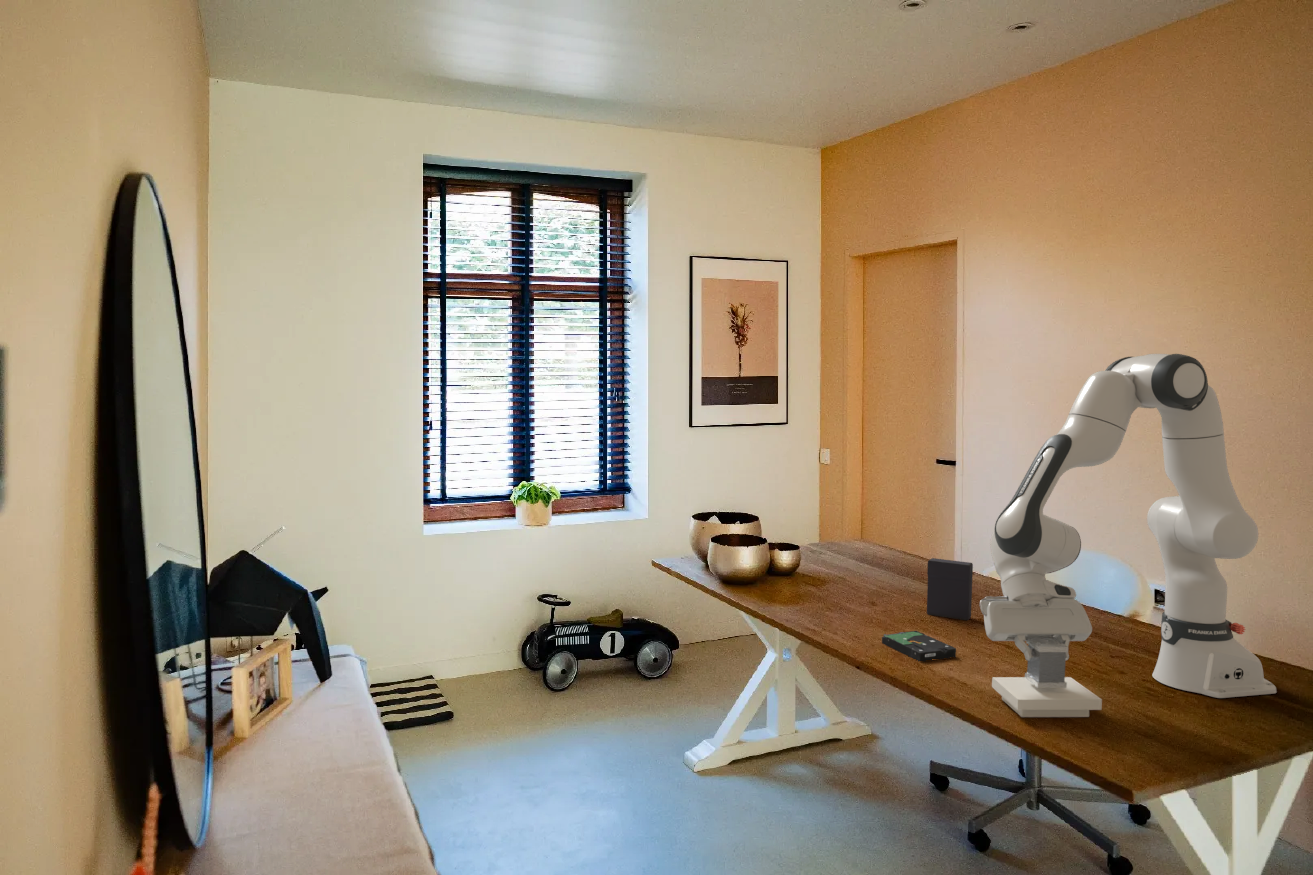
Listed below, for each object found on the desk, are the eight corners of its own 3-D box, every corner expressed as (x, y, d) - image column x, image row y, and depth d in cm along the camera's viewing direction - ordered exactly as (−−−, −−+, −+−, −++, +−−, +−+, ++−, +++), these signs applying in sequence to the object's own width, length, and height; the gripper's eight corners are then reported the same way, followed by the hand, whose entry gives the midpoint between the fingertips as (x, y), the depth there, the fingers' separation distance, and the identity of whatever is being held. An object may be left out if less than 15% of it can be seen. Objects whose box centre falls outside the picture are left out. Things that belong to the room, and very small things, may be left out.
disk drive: (956, 659, 202) (915, 640, 216) (957, 648, 202) (916, 629, 215) (919, 664, 198) (880, 644, 212) (920, 652, 198) (880, 633, 212)
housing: (1052, 677, 174) (1054, 638, 173) (1066, 687, 168) (1068, 647, 168) (1024, 677, 174) (1026, 637, 173) (1037, 687, 168) (1039, 646, 168)
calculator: (971, 617, 234) (973, 562, 233) (967, 621, 231) (969, 565, 230) (930, 611, 240) (932, 557, 239) (925, 614, 237) (927, 560, 235)
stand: (1069, 696, 178) (1070, 677, 177) (1100, 719, 166) (1101, 699, 165) (991, 696, 177) (992, 677, 177) (1017, 720, 165) (1017, 699, 165)
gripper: (981, 588, 177) (1000, 651, 168) (1082, 588, 177) (1105, 651, 168) (972, 604, 181) (989, 666, 172) (1070, 604, 182) (1092, 666, 173)
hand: (1048, 659), depth 170 cm, fingers closed on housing, 5 cm apart
